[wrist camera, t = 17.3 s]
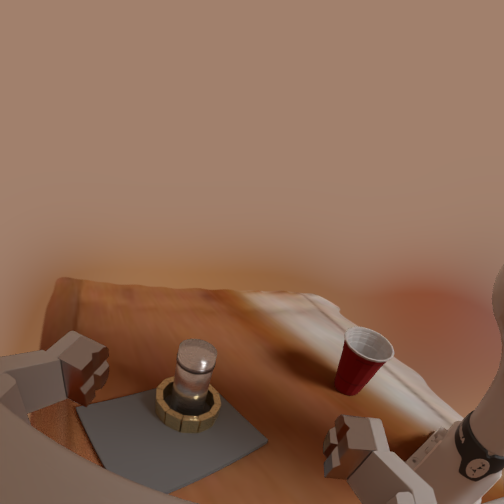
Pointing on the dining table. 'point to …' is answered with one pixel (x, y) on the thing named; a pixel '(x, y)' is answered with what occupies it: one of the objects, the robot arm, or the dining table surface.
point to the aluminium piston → (192, 376)
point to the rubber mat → (164, 441)
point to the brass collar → (184, 421)
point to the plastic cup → (361, 359)
